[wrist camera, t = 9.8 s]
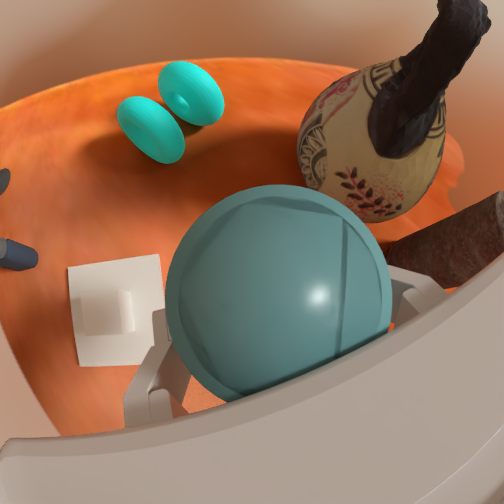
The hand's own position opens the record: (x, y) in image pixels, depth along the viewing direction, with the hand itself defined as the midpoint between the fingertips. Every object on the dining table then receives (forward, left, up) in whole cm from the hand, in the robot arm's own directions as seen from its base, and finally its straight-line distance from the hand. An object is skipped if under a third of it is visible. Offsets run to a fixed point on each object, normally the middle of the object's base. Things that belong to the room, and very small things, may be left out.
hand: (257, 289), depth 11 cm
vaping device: (+8, +28, -21) cm, 36 cm away
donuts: (+22, +5, -22) cm, 32 cm away
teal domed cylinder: (-1, 0, -5) cm, 5 cm away
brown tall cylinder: (0, -22, -21) cm, 31 cm away
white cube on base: (0, +14, -21) cm, 25 cm away
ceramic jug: (+12, -15, -21) cm, 29 cm away
